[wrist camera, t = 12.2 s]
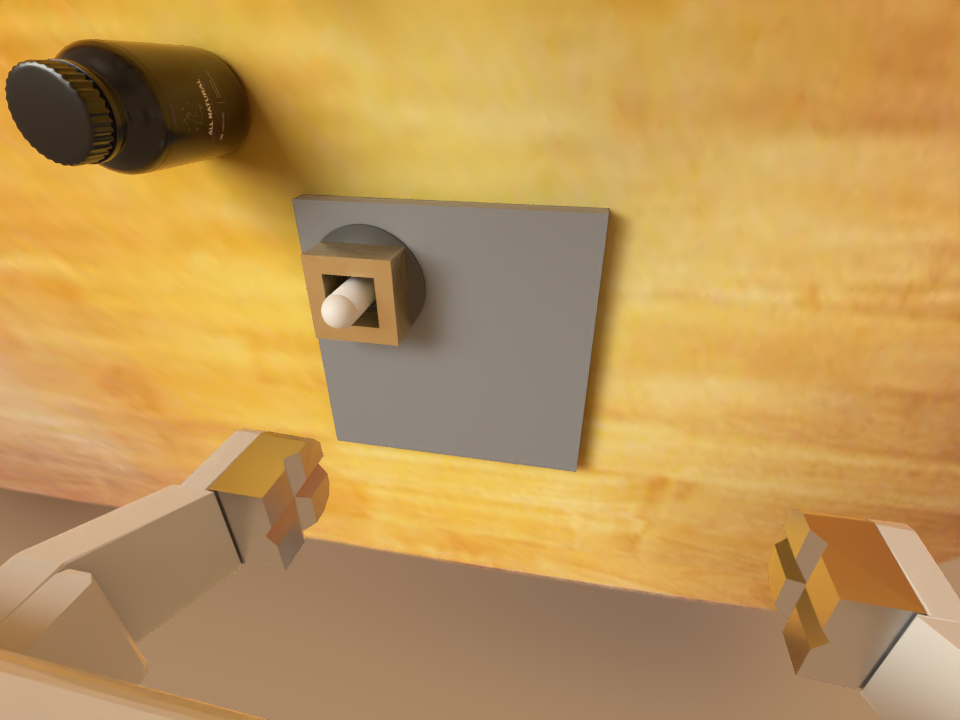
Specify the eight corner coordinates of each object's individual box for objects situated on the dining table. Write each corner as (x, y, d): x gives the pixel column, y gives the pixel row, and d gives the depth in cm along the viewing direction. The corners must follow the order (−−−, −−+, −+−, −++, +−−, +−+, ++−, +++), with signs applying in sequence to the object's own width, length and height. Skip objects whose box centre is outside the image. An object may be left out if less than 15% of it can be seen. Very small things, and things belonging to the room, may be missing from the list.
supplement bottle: (272, 117, 35) (139, 140, 25) (215, 173, 38) (75, 214, 27) (198, 19, 32) (18, 0, 22) (144, 87, 35) (-38, 97, 25)
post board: (608, 208, 33) (611, 243, 27) (576, 460, 45) (573, 528, 38) (302, 194, 37) (240, 222, 31) (344, 430, 48) (305, 487, 42)
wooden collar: (404, 246, 36) (390, 260, 33) (411, 327, 39) (398, 346, 36) (320, 241, 37) (300, 254, 34) (333, 320, 40) (316, 337, 37)
